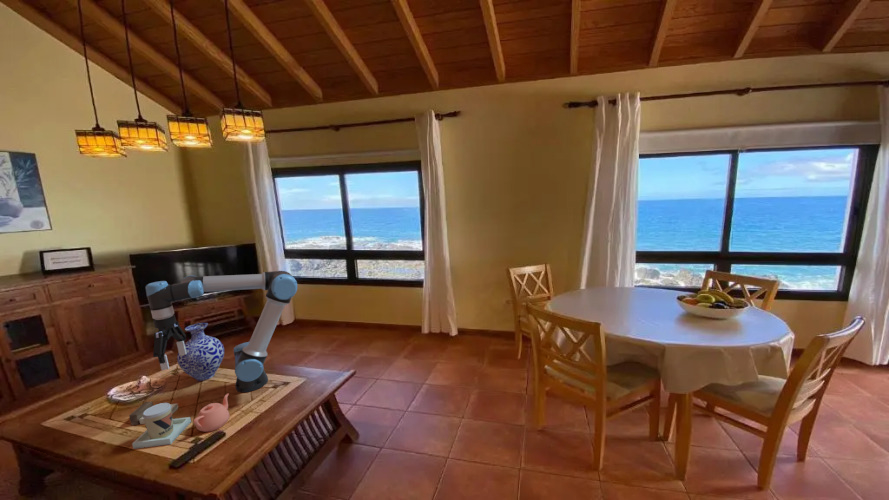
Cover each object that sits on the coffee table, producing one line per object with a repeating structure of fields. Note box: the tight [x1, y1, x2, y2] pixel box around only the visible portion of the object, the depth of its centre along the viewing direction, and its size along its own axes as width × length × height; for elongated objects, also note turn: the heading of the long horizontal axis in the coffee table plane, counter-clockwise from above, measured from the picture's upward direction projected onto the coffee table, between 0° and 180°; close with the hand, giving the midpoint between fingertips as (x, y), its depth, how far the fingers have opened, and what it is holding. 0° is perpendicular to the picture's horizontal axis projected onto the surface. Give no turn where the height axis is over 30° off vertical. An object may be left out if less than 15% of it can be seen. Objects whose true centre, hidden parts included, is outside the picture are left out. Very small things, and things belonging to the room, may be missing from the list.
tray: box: [131, 416, 192, 450], centre depth 147 cm, size 14×14×2 cm
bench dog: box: [129, 401, 154, 426], centre depth 159 cm, size 3×10×5 cm, turn 7°
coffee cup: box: [142, 402, 173, 440], centre depth 145 cm, size 9×9×12 cm
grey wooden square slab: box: [139, 403, 179, 425], centre depth 160 cm, size 10×10×3 cm
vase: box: [177, 322, 225, 382], centre depth 192 cm, size 22×22×30 cm
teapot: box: [192, 393, 230, 433], centre depth 153 cm, size 12×18×10 cm
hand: (174, 361), depth 154 cm, fingers open, 13 cm apart
